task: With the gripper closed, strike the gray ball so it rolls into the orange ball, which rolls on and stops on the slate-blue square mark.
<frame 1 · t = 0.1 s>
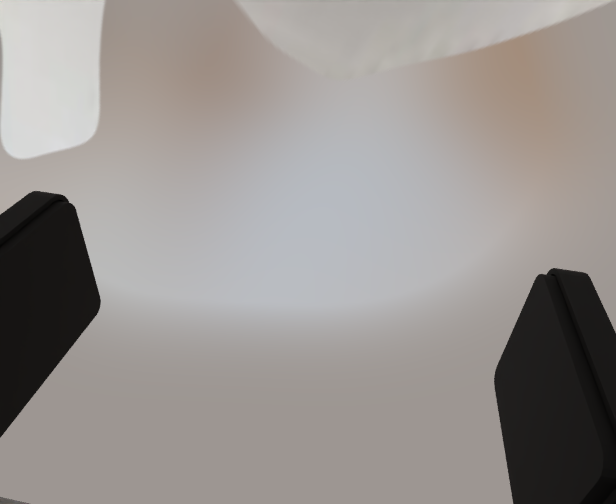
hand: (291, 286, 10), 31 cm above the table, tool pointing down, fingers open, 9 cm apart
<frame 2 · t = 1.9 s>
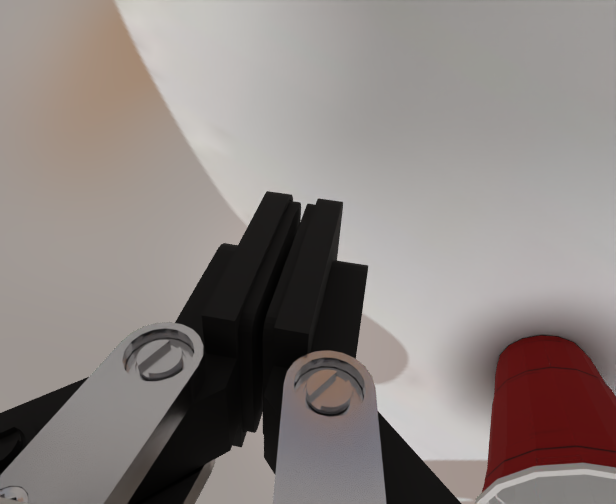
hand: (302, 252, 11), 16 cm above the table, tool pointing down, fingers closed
plastic cup: (538, 359, 33), on the table
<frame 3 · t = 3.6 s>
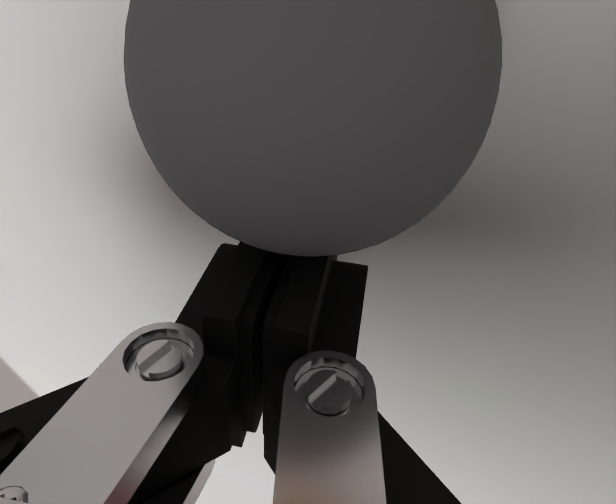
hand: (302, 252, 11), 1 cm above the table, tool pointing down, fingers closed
gray ball: (312, 80, 7), on the table, touching gripper
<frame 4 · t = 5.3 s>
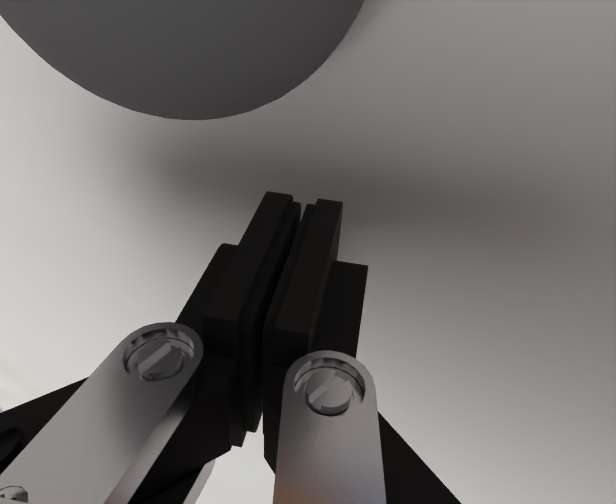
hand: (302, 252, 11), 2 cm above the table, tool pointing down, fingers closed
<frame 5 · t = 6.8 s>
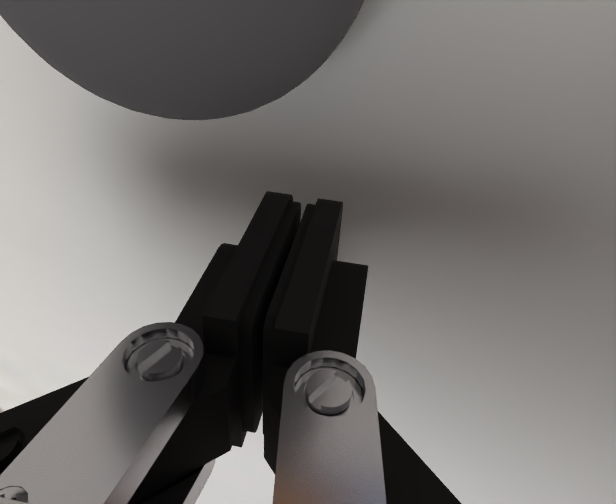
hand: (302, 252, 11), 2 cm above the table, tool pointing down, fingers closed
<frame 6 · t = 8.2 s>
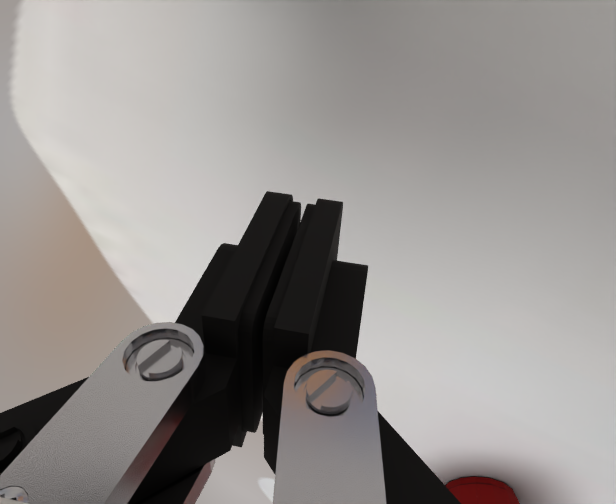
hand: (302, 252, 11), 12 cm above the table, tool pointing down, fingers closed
plastic cup: (475, 491, 38), on the table
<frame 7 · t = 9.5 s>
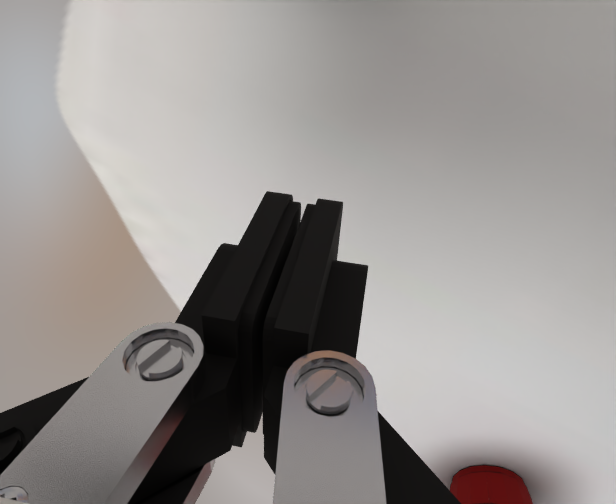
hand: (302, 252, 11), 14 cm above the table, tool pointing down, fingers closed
plastic cup: (486, 480, 39), on the table
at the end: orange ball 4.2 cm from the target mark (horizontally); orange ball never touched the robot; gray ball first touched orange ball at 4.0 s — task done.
